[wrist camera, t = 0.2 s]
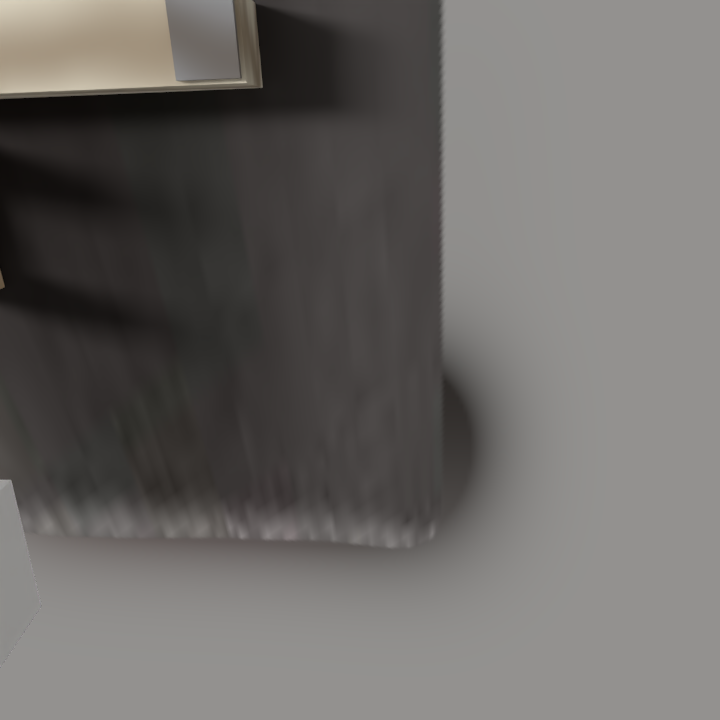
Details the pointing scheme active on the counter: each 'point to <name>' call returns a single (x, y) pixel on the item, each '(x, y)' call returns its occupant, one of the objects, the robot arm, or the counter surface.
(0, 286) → the wooden stand
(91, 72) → the rail
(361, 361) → the counter surface
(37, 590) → the robot arm
